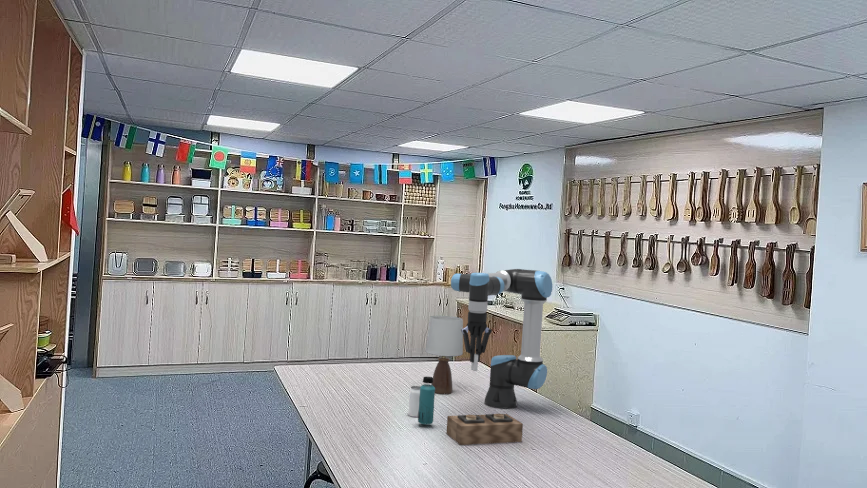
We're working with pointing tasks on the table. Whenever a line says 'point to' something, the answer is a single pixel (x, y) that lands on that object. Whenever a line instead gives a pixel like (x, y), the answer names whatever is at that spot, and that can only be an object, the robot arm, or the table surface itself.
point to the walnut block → (484, 429)
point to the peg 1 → (470, 417)
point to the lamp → (444, 348)
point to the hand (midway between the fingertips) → (474, 370)
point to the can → (414, 401)
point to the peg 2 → (498, 416)
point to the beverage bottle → (426, 402)
